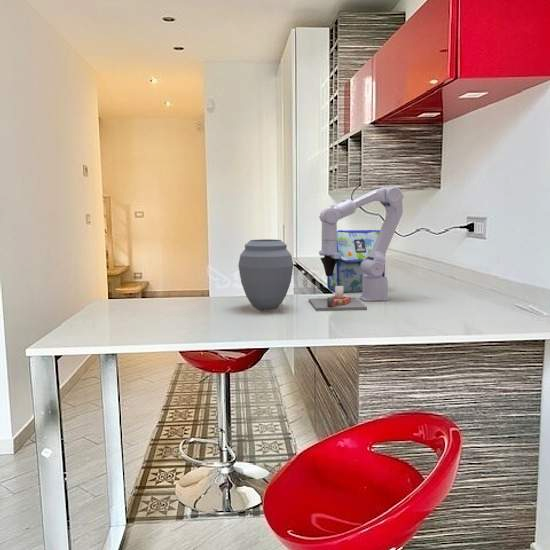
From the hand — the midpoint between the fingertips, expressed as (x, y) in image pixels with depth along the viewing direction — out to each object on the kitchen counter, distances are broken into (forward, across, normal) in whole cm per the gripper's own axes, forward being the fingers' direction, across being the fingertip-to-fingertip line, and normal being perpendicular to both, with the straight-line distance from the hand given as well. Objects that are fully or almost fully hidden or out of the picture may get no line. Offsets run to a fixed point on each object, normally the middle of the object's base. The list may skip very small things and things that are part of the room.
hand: (329, 275), depth 203 cm
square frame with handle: (+9, +11, -2) cm, 14 cm away
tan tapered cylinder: (+10, +14, -2) cm, 17 cm away
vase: (+10, +5, -27) cm, 29 cm away
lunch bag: (+10, -21, +22) cm, 32 cm away
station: (+10, +9, 0) cm, 13 cm away
